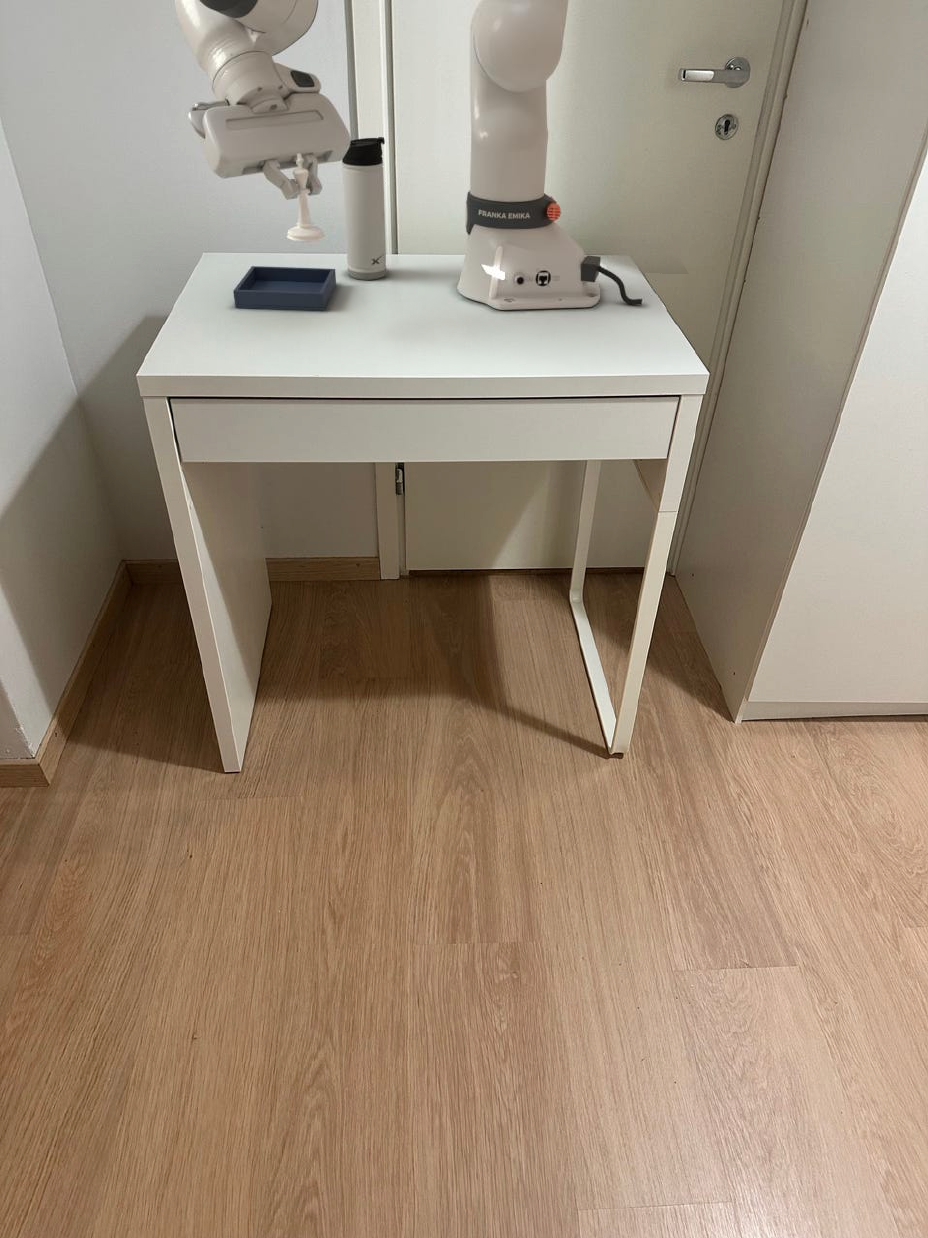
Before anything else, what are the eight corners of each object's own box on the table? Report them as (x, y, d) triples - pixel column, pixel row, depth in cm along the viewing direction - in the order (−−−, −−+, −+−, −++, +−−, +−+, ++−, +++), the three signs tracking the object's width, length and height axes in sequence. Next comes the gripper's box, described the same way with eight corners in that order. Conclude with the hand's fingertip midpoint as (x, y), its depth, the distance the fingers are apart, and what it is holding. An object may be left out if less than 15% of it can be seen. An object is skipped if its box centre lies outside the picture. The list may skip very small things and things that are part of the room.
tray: (336, 284, 140) (335, 268, 138) (323, 310, 130) (322, 293, 129) (253, 281, 140) (251, 265, 138) (235, 307, 130) (233, 290, 129)
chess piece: (328, 232, 120) (323, 151, 113) (318, 242, 116) (312, 158, 110) (293, 230, 120) (286, 148, 114) (282, 240, 116) (274, 156, 110)
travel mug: (386, 280, 142) (382, 141, 130) (345, 279, 142) (337, 140, 130) (390, 269, 147) (386, 134, 134) (350, 267, 147) (343, 132, 134)
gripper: (188, 85, 105) (243, 189, 106) (326, 74, 117) (376, 168, 117) (176, 122, 111) (228, 221, 111) (310, 108, 122) (357, 198, 122)
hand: (305, 194), depth 114 cm, fingers closed on chess piece, 2 cm apart
